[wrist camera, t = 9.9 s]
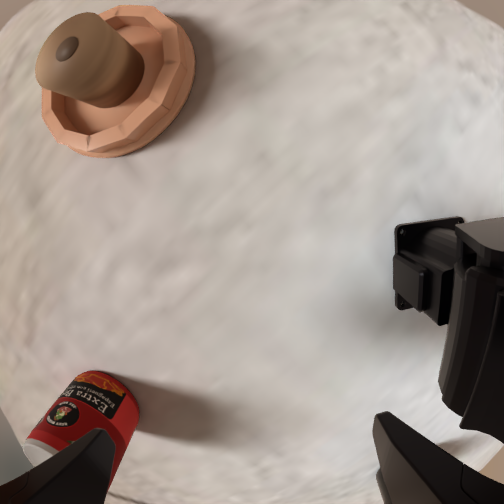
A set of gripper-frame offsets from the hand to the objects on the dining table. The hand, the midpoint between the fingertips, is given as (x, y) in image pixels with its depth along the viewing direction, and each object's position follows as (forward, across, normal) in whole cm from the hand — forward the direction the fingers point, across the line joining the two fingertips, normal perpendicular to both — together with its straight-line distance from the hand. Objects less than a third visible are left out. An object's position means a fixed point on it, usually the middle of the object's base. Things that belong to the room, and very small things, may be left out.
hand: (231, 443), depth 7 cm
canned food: (+13, +16, +10) cm, 23 cm away
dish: (+13, +7, -17) cm, 22 cm away
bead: (+12, +7, -17) cm, 22 cm away
